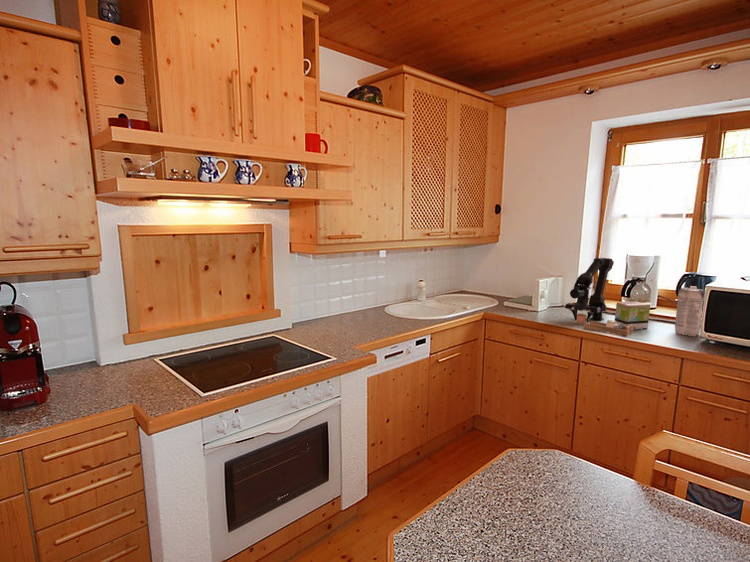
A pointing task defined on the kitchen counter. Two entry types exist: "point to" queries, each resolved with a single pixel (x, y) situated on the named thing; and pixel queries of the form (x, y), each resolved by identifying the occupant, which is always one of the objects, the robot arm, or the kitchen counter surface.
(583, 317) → the pinkish tan cube
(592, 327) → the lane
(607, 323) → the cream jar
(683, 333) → the juice carton
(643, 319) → the tea box
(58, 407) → the kitchen counter surface
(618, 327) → the pusher plate
